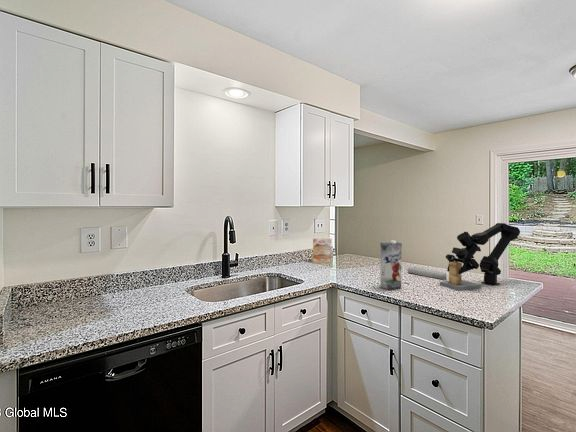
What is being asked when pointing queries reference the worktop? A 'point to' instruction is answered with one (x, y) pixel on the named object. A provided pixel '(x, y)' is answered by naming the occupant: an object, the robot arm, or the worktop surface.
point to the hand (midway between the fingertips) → (453, 272)
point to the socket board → (464, 285)
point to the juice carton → (390, 265)
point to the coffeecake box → (322, 250)
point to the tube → (427, 272)
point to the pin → (455, 273)
